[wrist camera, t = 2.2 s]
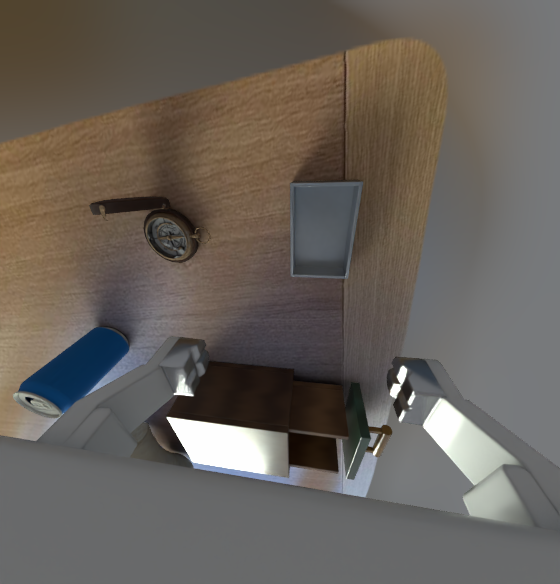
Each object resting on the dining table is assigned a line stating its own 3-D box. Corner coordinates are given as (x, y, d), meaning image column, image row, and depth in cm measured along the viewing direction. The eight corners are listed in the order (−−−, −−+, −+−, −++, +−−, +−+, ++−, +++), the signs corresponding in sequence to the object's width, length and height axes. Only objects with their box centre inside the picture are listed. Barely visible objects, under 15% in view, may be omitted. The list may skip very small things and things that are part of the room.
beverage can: (90, 320, 34) (-2, 385, 24) (127, 328, 34) (50, 397, 24) (102, 346, 38) (25, 413, 28) (136, 354, 38) (71, 424, 28)
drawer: (387, 385, 32) (406, 443, 25) (369, 429, 39) (381, 484, 32) (261, 373, 34) (249, 422, 28) (266, 416, 41) (257, 464, 35)
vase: (29, 470, 40) (95, 558, 48) (89, 504, 32) (158, 605, 39) (136, 388, 60) (172, 460, 67) (192, 395, 51) (226, 477, 58)
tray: (358, 179, 19) (363, 181, 17) (344, 269, 24) (347, 278, 22) (292, 181, 20) (290, 183, 18) (292, 267, 24) (290, 276, 22)
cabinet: (294, 369, 34) (288, 433, 26) (293, 416, 42) (288, 478, 34) (198, 360, 36) (165, 416, 28) (215, 407, 44) (192, 462, 36)
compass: (162, 261, 27) (116, 291, 20) (133, 193, 22) (65, 205, 16) (220, 258, 25) (190, 289, 19) (201, 186, 21) (155, 195, 15)
